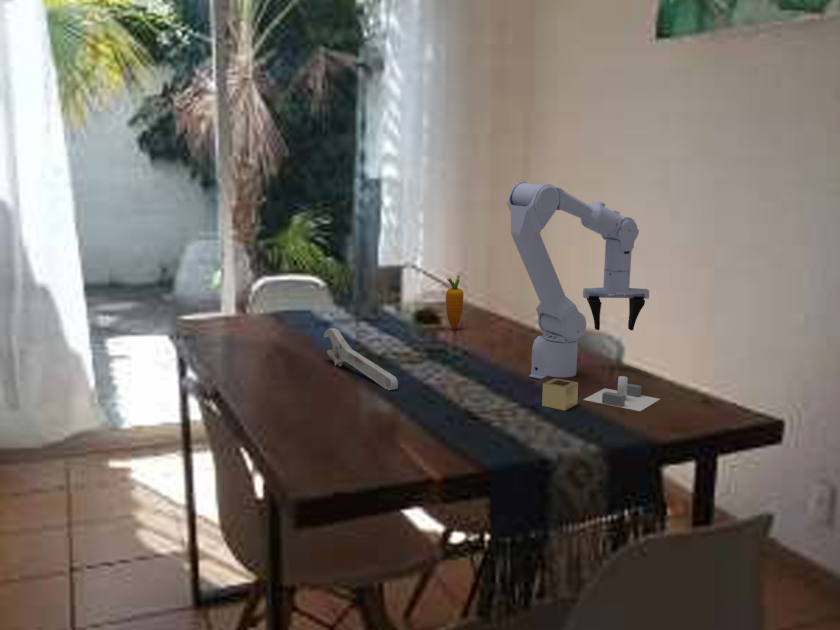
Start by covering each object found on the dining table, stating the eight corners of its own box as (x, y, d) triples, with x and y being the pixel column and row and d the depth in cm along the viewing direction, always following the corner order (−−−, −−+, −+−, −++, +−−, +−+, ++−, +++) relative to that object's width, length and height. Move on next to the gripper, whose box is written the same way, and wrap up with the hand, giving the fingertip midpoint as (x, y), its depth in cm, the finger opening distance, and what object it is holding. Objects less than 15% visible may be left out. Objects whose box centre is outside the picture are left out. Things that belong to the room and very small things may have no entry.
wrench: (389, 404, 187) (322, 357, 211) (397, 403, 188) (329, 356, 212) (392, 368, 185) (323, 325, 208) (399, 367, 186) (330, 324, 209)
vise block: (582, 405, 178) (584, 377, 177) (604, 393, 186) (605, 367, 185) (639, 417, 171) (641, 388, 170) (659, 404, 179) (661, 377, 178)
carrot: (448, 332, 240) (449, 277, 237) (442, 328, 245) (443, 274, 242) (465, 331, 242) (466, 276, 238) (459, 327, 246) (461, 273, 243)
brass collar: (541, 408, 174) (542, 383, 173) (554, 402, 178) (555, 378, 177) (565, 413, 171) (566, 388, 170) (577, 407, 175) (578, 382, 174)
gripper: (588, 272, 196) (585, 332, 199) (654, 273, 197) (650, 333, 199) (582, 267, 203) (579, 326, 206) (646, 268, 203) (642, 326, 206)
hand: (613, 329), depth 203 cm, fingers open, 7 cm apart
